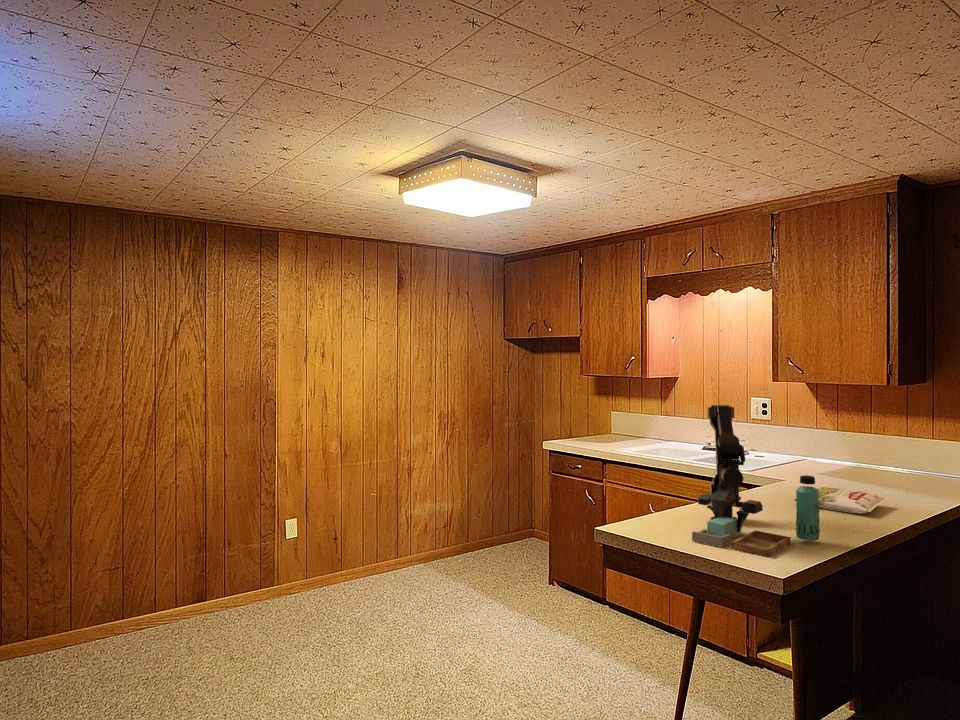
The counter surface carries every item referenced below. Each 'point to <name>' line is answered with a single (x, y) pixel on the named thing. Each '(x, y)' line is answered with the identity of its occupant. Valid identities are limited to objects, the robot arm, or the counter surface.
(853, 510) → the frozen beans
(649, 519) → the counter surface
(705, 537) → the dock
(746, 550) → the tray
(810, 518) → the beverage bottle
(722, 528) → the mint rectangular block
